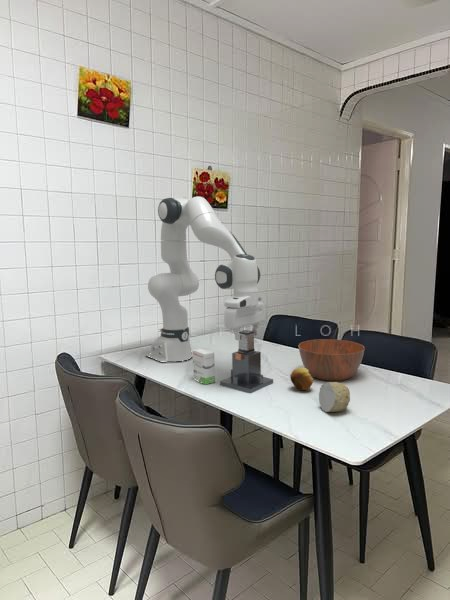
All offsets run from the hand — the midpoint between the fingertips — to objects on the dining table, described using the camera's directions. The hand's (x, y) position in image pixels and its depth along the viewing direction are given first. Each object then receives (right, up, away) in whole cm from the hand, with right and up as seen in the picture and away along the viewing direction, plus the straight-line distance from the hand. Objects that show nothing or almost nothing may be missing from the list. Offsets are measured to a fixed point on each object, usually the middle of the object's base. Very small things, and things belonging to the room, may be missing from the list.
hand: (246, 337), depth 160 cm
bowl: (+33, -16, +12) cm, 39 cm away
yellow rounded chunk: (+26, -21, -24) cm, 41 cm away
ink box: (-16, -17, +7) cm, 24 cm away
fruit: (+19, -18, -4) cm, 27 cm away
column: (0, -16, +2) cm, 16 cm away
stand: (0, -17, +2) cm, 18 cm away
